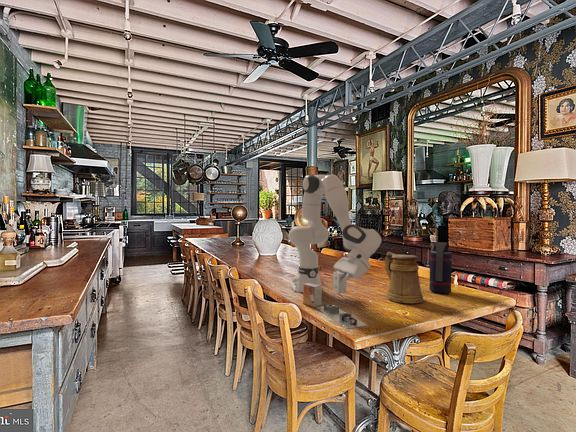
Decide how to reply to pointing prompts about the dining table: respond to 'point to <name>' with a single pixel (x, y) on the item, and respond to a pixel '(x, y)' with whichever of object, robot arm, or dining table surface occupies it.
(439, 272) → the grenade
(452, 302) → the dining table surface
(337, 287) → the mini drawer chest
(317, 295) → the small box
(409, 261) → the tankard
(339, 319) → the grey long flat board
